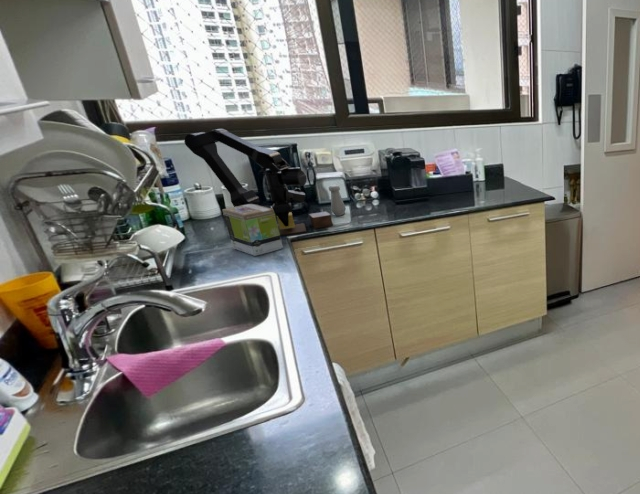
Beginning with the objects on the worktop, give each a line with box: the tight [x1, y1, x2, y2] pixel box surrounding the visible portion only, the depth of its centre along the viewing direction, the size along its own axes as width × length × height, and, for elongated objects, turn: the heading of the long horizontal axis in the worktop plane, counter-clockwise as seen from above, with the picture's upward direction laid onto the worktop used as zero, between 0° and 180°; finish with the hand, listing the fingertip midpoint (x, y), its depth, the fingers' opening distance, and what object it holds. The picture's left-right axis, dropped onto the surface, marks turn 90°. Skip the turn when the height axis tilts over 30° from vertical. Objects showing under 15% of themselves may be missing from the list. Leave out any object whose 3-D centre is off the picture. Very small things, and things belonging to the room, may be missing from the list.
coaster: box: [278, 222, 307, 237], centre depth 185 cm, size 12×12×1 cm
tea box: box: [221, 204, 284, 257], centre depth 163 cm, size 15×10×15 cm, turn 59°
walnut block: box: [308, 211, 333, 229], centre depth 191 cm, size 6×6×4 cm
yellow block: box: [276, 211, 295, 229], centre depth 183 cm, size 5×5×5 cm
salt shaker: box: [328, 184, 347, 217], centre depth 203 cm, size 6×6×13 cm
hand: (286, 224), depth 184 cm, fingers closed on yellow block, 5 cm apart
